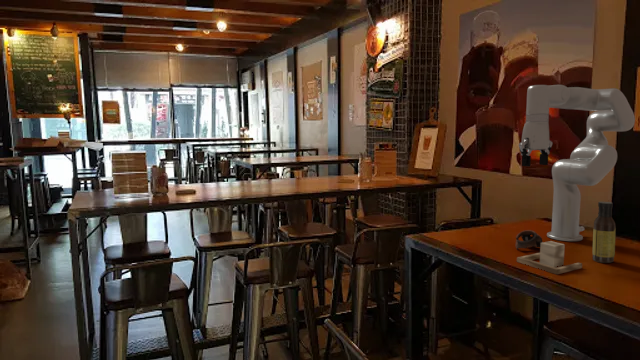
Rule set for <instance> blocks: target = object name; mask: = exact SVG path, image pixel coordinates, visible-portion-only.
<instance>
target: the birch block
mask: <svg viewBox="0 0 640 360" xmlns="http://www.w3.org/2000/svg"><path fill="white" fill-rule="evenodd" d="M542 242H543V243H541V245H540V247H539V248H540V249H539V253H540V258H539V263H542V264H545V265H549V266H552V267H555V268H558V267H562V265H563V266H565V265H564V262H565V261H564V260H565V249H566V248H565V246H566V245H565V244H564V243H560V242H555V241H552V240H550V241H545V242H544V241H542ZM557 266H558V267H557Z"/></svg>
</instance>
